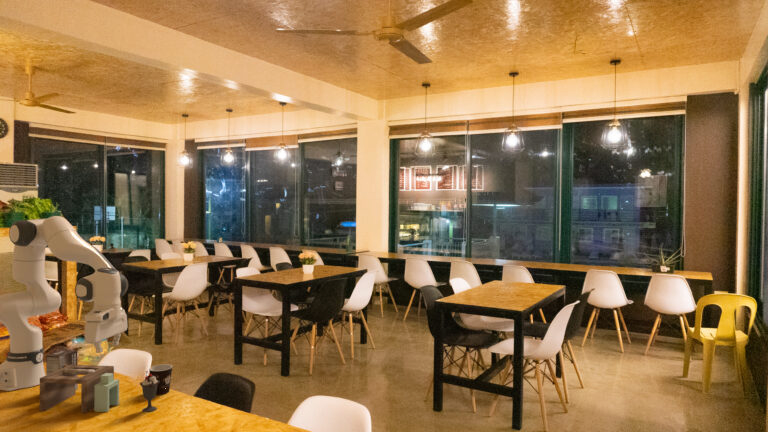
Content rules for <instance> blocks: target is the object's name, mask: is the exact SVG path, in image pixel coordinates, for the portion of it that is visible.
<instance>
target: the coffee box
mask: <svg viewBox="0 0 768 432" xmlns="http://www.w3.org/2000/svg"><path fill="white" fill-rule="evenodd" d="M45 356H46V357H45V358H46V359H45V361H46V363H45V366H46V367H45V368H46V369H45V370H46V371H45V375H48V374H50V373H53V372H55V371H57V370H59V369H62V368H64V367H66V366H68V365H78V349H76V350H75V349H63V350H60V351H55V352H53V353H50V354H47V355H45ZM75 377H79V376H78V375H75ZM78 387H79V386H78V384H75V391H77V390H78Z"/></svg>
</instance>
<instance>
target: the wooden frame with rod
mask: <svg viewBox="0 0 768 432" xmlns="http://www.w3.org/2000/svg"><path fill="white" fill-rule="evenodd" d="M105 373H114V374H115V366H114V365H96V364H95V365H93V364H91V365H90V364H77V365H68V366H66V367H64V368H62V369H59V370H57V371H55V372H53V373H50V374H48V375H46V374H45V375H46V376H44V377H41V378H40V384H39V411H40V412H45V411H47V410H49V409H51V408H53V407H54V406H57V405H59V404H61V403H62V402H64V401H66V400H68V399H70V398H72V397H73V396H76V390H75V384H79V385H80V386H81V387H80V388H81V389H80V390H81V391H80V392H81V394H80V395H81V396H80V399H81V400H80V407H81V409H80V412H81V413H83V414H84V413H86V414H87V413H88V412H90V411H92V410H93V409H94V400H95V385H97V384H99V383H100V382H101V375H103V374H105ZM75 375H79V376H78V377H75ZM81 413H80V414H81Z"/></svg>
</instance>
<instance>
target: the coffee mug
mask: <svg viewBox="0 0 768 432" xmlns="http://www.w3.org/2000/svg"><path fill="white" fill-rule="evenodd" d="M148 370H149V371H148V373H149V374H152V375H154V376H155V375H157V376H158V377H159V378H158V380H159V383H158V384H157V390H156V395H155V396H163V395H166V394H168V393H170V389H171V380H172V371H173V365H172V364H167V363H166V364H165V363H164V364H163V363H162V364H156V365H153V366H150V367H149V368H148ZM165 388H166V389H165Z"/></svg>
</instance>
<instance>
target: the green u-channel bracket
mask: <svg viewBox="0 0 768 432" xmlns="http://www.w3.org/2000/svg"><path fill="white" fill-rule="evenodd" d="M119 405H120V379H116V378H115V372H114V373H105V374H103V375H101V382H100V383H99V384H97V385H95V400H94V411H93V412H96V413H97V412H98V413H99V412H100V413H108V412H109V411H110V406H119Z"/></svg>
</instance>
